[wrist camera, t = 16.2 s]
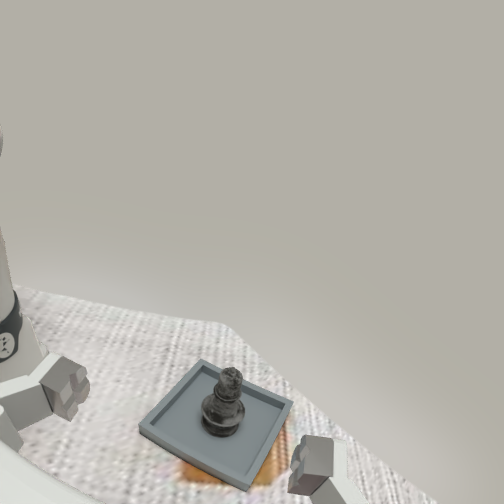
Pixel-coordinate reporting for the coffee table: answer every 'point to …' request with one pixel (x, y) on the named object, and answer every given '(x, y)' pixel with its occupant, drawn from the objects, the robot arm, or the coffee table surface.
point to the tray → (210, 447)
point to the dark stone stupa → (224, 405)
